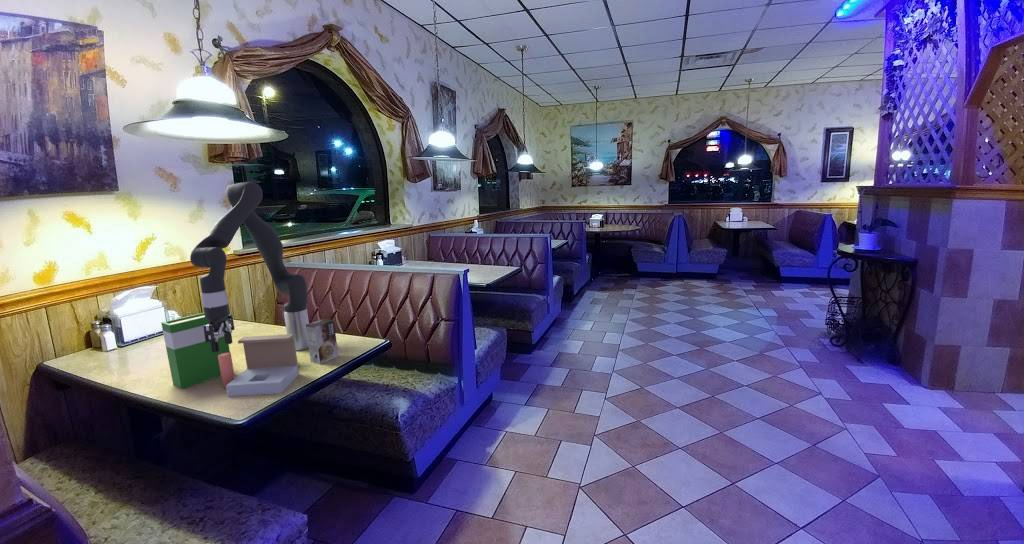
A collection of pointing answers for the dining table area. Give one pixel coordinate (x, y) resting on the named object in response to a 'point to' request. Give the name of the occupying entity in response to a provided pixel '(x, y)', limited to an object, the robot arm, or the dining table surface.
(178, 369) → the hardback book
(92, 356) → the dining table surface
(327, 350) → the coffee box
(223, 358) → the peg
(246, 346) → the socket
